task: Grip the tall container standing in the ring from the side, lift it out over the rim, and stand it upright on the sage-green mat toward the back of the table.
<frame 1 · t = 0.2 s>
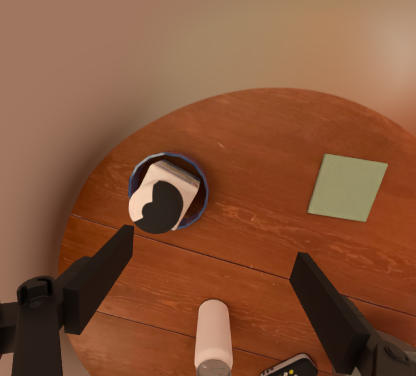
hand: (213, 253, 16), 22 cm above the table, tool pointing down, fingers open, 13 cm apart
container: (173, 186, 37), resting in ring
can: (213, 309, 44), on the table
mat: (344, 188, 36), on the table
bowl: (352, 337, 45), on the table
remote control: (286, 369, 48), on the table
ring: (172, 188, 37), on the table
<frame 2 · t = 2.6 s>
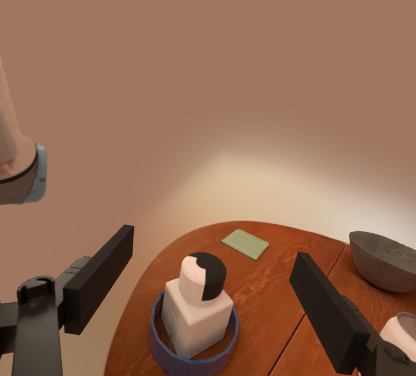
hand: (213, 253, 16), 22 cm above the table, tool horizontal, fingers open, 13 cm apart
container: (191, 329, 32), resting in ring
mat: (245, 243, 60), on the table
bowl: (376, 282, 53), on the table
ring: (192, 330, 32), on the table
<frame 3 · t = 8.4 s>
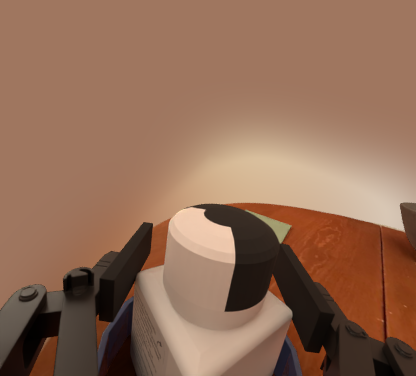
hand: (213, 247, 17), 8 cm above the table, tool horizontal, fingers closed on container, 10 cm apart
container: (195, 374, 15), resting in ring, touching gripper
mat: (259, 226, 43), on the table
when the fingers open (9 cm above the table, at t = 18.3 s): container stays where it is, resting on mat.
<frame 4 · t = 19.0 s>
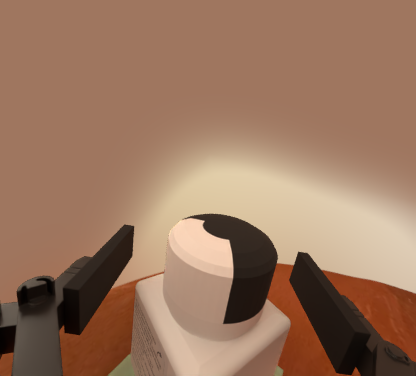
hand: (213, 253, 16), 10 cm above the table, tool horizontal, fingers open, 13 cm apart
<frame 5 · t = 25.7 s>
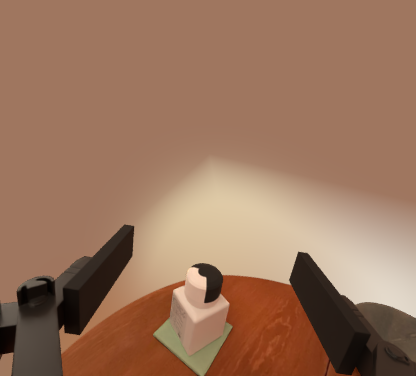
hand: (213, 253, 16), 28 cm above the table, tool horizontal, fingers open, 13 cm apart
container: (195, 329, 39), resting on mat
mat: (194, 331, 39), on the table
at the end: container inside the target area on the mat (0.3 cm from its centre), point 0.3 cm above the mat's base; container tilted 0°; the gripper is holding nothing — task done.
